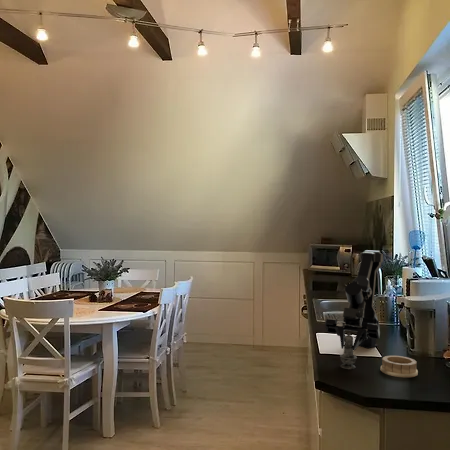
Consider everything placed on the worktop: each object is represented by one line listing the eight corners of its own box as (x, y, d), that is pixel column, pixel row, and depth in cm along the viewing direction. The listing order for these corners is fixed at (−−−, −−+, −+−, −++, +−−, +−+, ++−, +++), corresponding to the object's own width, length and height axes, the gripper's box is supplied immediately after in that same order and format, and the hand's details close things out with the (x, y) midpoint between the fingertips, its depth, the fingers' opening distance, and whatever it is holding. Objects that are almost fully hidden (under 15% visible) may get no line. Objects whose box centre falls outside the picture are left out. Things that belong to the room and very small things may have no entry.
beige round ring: (373, 369, 174) (373, 357, 173) (395, 364, 180) (396, 353, 180) (402, 379, 163) (402, 367, 163) (425, 374, 170) (425, 362, 170)
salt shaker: (344, 363, 180) (345, 329, 180) (359, 366, 176) (360, 332, 176) (336, 366, 176) (337, 332, 175) (352, 370, 172) (353, 335, 172)
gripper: (326, 296, 183) (317, 332, 173) (379, 301, 175) (372, 339, 165) (331, 314, 190) (322, 349, 181) (382, 320, 182) (376, 357, 172)
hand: (347, 348), depth 175 cm, fingers closed on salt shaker, 4 cm apart
